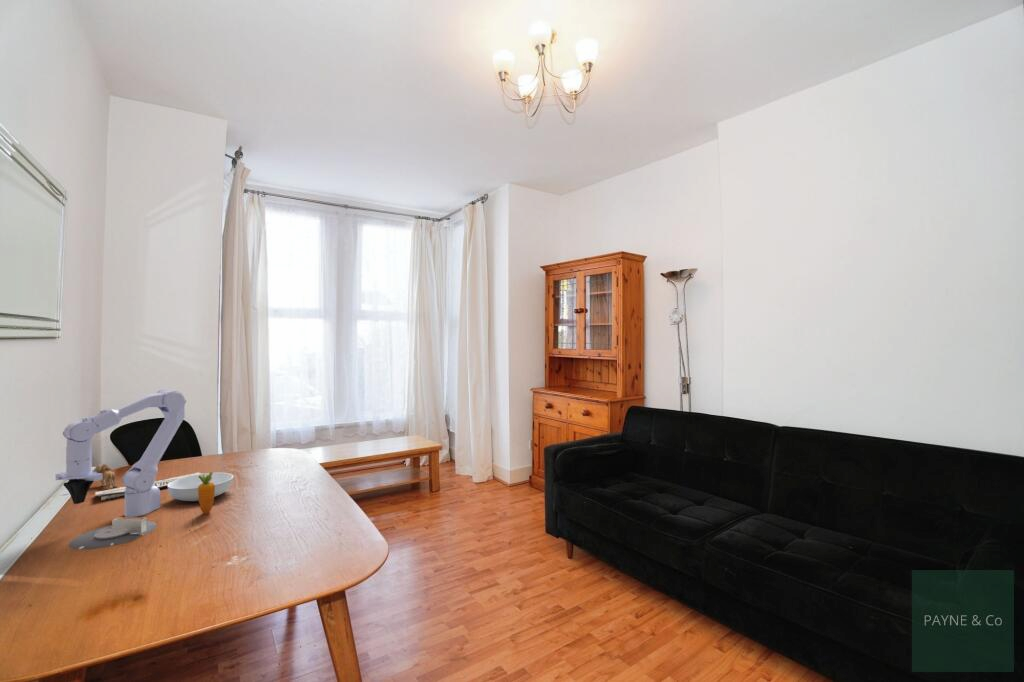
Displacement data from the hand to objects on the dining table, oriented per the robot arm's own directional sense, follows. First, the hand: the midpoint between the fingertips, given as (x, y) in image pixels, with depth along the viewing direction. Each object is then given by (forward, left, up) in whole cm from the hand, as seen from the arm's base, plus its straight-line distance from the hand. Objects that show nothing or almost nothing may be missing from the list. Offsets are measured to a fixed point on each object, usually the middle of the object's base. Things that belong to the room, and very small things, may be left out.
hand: (79, 502), depth 138 cm
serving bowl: (-33, +13, -10) cm, 37 cm away
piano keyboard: (-41, -16, -10) cm, 45 cm away
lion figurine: (-41, -37, -10) cm, 56 cm away
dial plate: (+2, +15, -9) cm, 18 cm away
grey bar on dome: (+2, +17, -8) cm, 19 cm away
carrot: (-16, +30, -10) cm, 35 cm away
